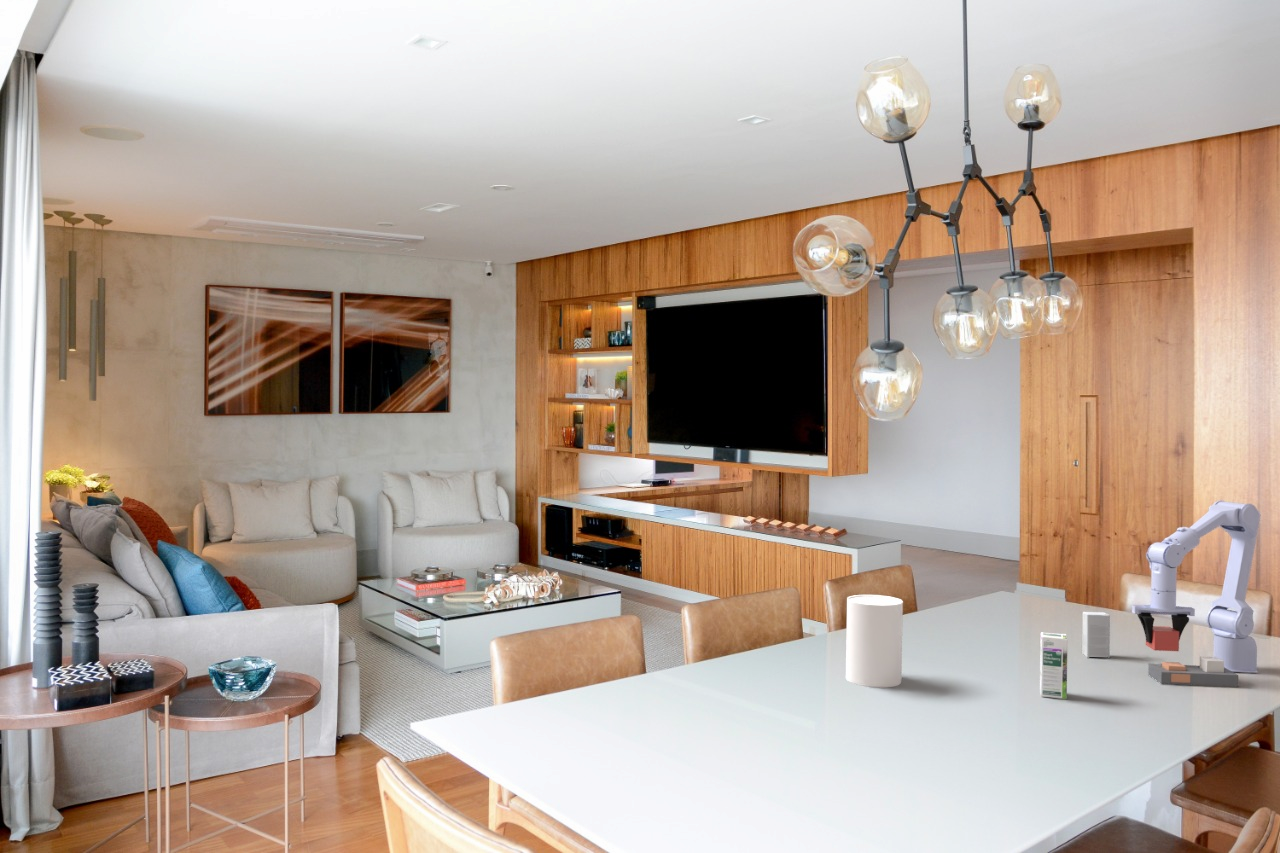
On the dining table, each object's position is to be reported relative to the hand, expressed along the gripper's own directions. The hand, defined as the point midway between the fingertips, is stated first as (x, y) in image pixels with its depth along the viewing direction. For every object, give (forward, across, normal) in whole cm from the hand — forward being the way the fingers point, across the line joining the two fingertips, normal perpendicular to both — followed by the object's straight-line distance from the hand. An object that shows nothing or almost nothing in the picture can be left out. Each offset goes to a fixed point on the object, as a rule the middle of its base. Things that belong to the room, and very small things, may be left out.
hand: (1162, 642), depth 251 cm
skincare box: (+9, +11, -17) cm, 22 cm away
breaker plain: (+6, -10, +4) cm, 13 cm away
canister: (+9, +74, +16) cm, 77 cm away
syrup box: (+9, +33, +23) cm, 41 cm away
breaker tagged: (+8, -1, +5) cm, 9 cm away
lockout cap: (+1, 0, 0) cm, 1 cm away
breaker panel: (+8, -6, +4) cm, 11 cm away
